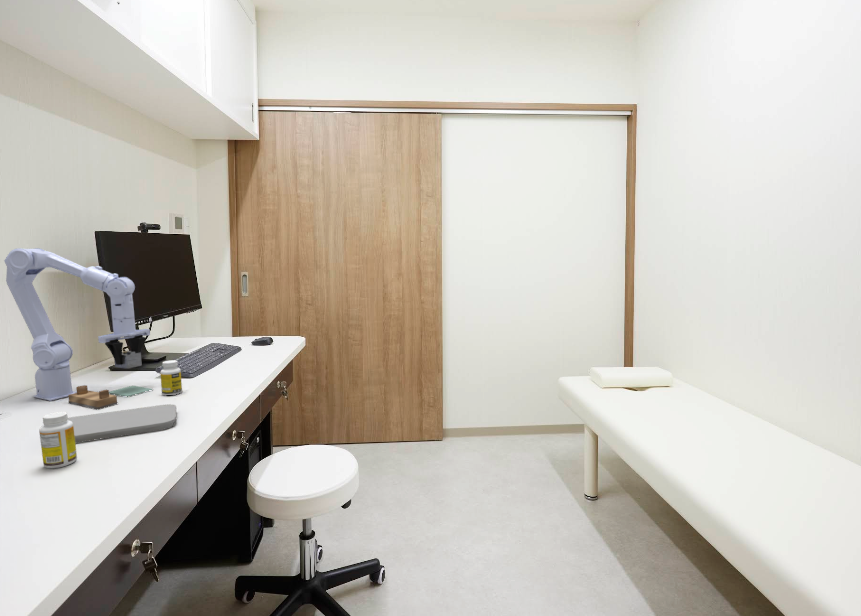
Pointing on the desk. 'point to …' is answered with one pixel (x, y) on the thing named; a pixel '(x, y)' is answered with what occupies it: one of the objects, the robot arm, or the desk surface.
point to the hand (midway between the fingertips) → (127, 362)
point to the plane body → (92, 398)
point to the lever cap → (130, 359)
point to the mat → (129, 391)
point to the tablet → (123, 422)
